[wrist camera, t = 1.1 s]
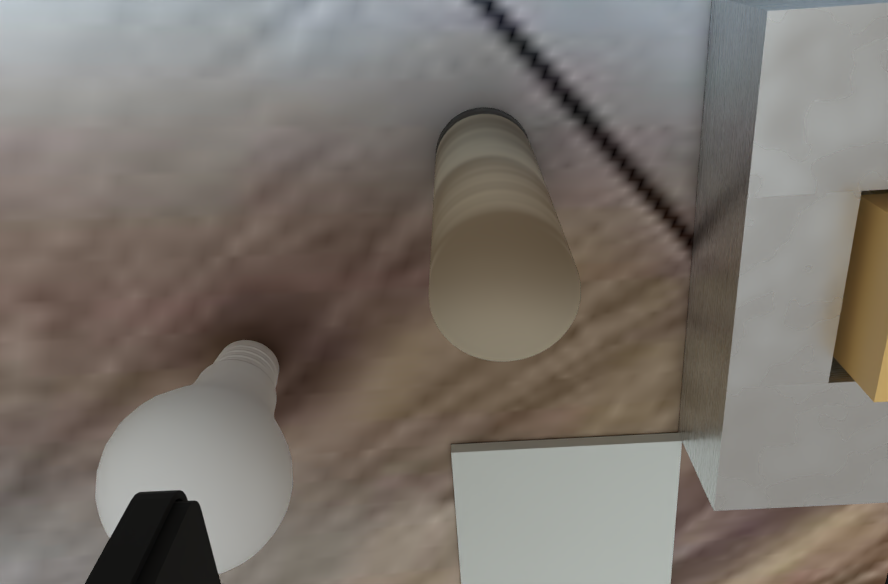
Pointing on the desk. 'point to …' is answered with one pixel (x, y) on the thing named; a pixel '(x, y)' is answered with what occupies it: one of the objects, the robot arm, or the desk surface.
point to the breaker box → (784, 254)
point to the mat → (567, 509)
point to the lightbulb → (208, 453)
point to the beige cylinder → (497, 243)
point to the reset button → (867, 301)
